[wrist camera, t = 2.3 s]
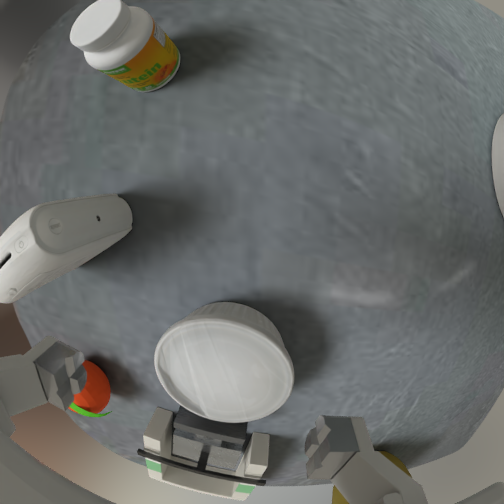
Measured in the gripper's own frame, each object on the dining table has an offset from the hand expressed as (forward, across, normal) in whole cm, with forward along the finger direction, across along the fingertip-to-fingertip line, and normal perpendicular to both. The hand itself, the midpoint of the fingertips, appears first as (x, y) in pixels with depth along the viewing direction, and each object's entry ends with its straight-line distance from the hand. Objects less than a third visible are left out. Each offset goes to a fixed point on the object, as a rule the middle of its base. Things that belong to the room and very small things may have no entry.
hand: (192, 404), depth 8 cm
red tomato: (+16, +14, +18) cm, 28 cm away
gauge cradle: (+16, -1, +27) cm, 31 cm away
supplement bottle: (+15, +11, -16) cm, 25 cm away
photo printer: (+16, +14, 0) cm, 21 cm away
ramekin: (+16, -1, +8) cm, 18 cm away
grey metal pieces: (+15, -1, +21) cm, 26 cm away
